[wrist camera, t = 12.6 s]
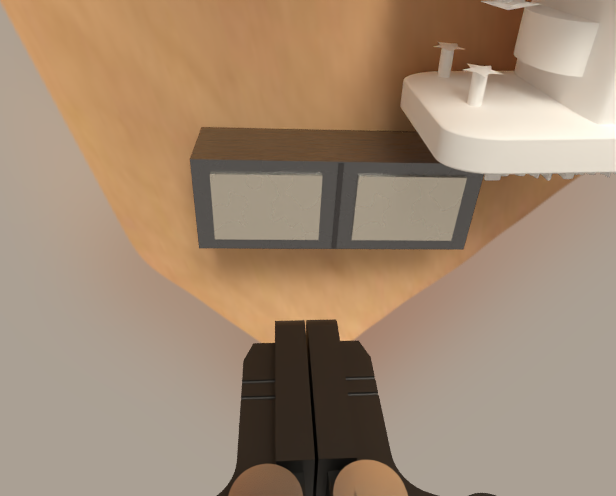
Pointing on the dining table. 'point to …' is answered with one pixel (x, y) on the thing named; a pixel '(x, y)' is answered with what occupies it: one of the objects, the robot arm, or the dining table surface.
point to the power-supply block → (327, 191)
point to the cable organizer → (527, 98)
